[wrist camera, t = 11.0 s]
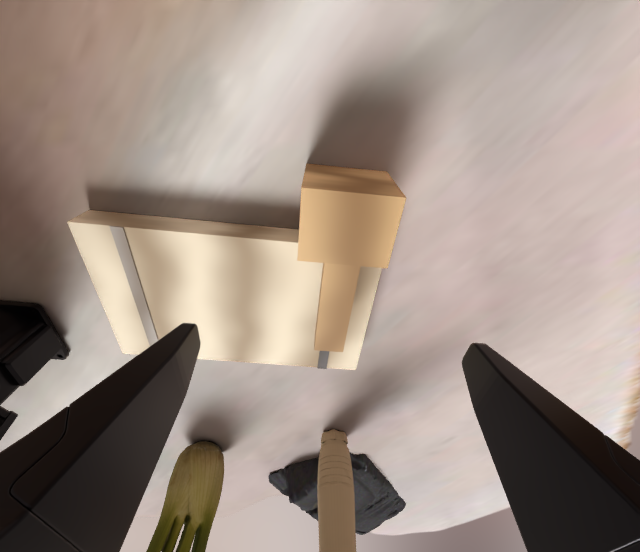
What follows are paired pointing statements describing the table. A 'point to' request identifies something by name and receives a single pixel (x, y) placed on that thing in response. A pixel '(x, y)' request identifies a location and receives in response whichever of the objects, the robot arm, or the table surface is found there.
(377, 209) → the marking gauge
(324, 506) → the handle
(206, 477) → the fennel bulb
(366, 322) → the ash plank
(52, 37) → the table surface
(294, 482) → the dark slate chunk
